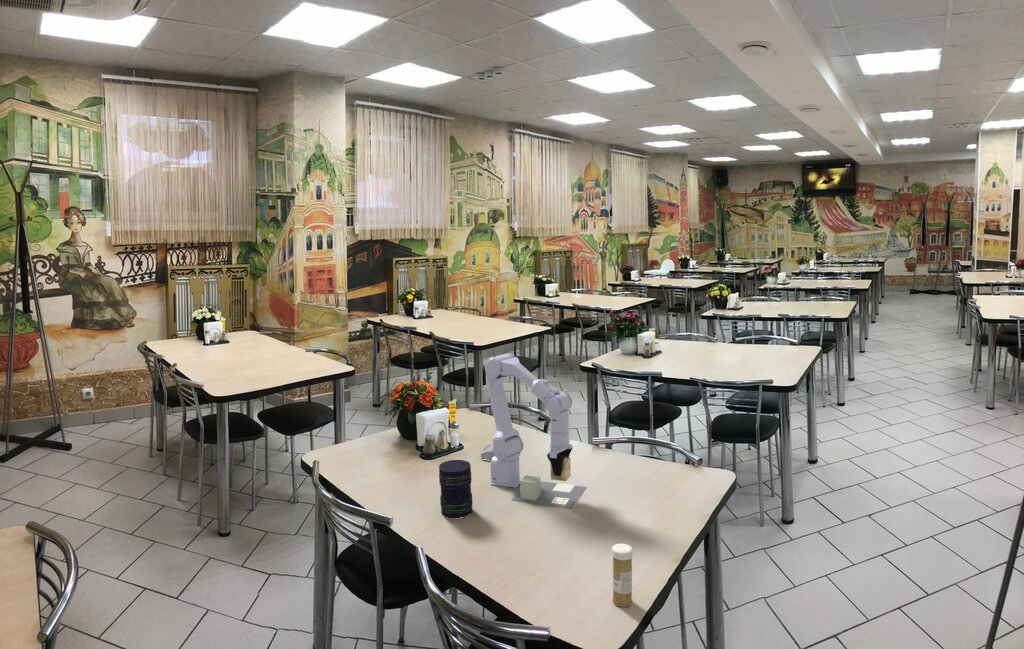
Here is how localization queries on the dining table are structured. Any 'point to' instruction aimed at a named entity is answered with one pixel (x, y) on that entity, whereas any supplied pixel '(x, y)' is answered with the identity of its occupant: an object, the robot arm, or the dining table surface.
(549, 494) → the slate mat
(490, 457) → the stone block
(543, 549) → the dining table surface
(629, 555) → the sprinkles bottle
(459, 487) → the storage jar
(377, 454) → the dining table surface
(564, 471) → the maple block
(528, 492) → the sage block
